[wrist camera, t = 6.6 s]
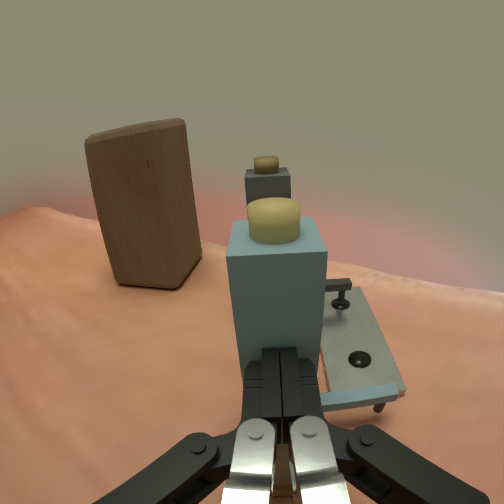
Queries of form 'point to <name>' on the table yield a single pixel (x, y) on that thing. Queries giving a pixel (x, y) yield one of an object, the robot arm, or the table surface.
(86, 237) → the table surface
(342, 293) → the dark grey l-shaped piece
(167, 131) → the block
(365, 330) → the grey flat plate
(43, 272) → the table surface
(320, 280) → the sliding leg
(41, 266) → the table surface
